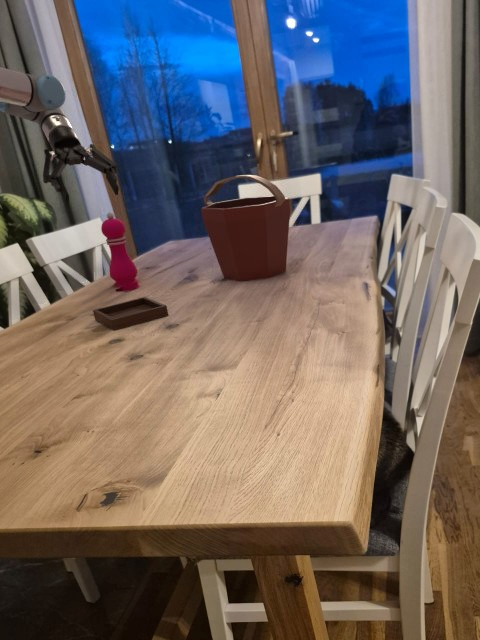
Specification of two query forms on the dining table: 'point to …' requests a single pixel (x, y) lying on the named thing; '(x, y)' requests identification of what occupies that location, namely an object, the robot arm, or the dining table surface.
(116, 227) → the pepper mill
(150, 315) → the base tray
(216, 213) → the bucket
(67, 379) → the dining table surface
